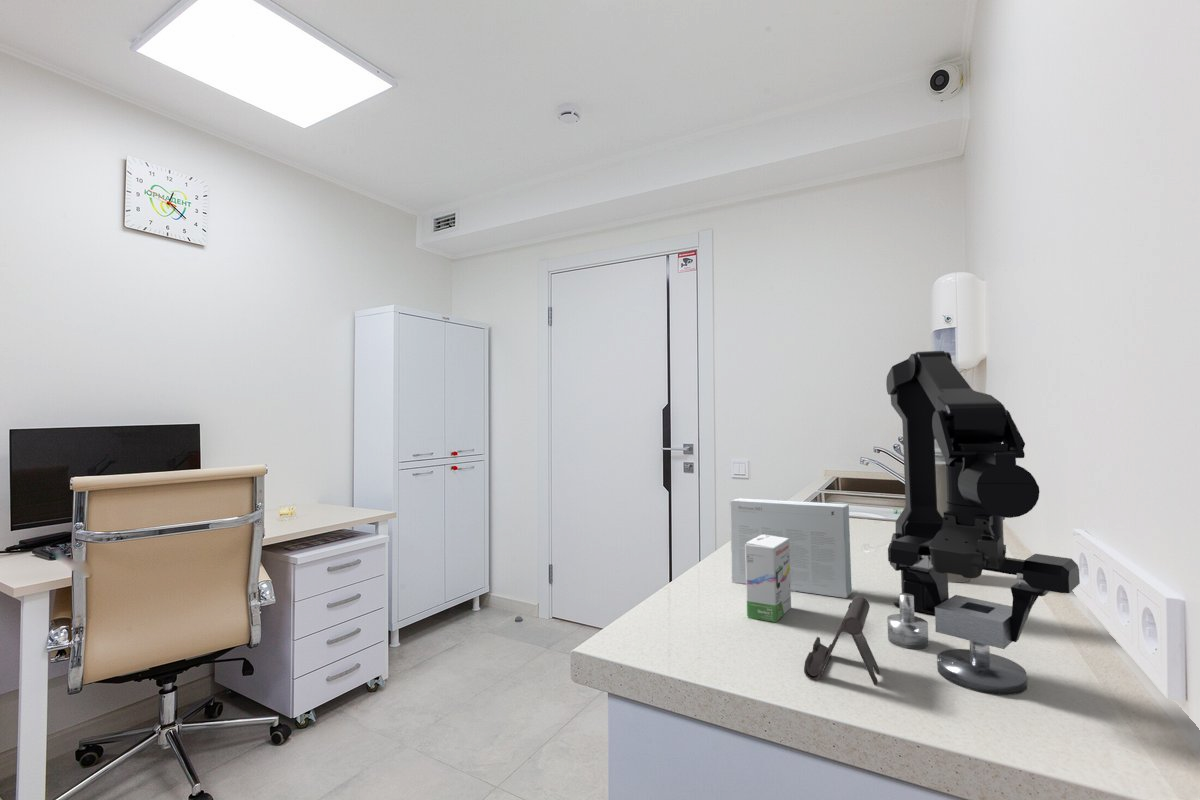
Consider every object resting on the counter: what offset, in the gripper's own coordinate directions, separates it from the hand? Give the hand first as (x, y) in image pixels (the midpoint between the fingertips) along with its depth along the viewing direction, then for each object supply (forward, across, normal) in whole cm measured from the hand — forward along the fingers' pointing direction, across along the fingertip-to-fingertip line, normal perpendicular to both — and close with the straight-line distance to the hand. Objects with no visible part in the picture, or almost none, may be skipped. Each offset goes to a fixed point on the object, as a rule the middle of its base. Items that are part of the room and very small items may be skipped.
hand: (978, 632), depth 69 cm
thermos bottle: (+6, -18, +43) cm, 47 cm away
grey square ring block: (0, 0, 0) cm, 0 cm away
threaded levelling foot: (+5, -10, +5) cm, 12 cm away
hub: (+5, 0, 0) cm, 5 cm away
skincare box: (+6, -36, +16) cm, 39 cm away
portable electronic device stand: (+6, -12, -10) cm, 17 cm away
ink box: (+6, -30, +1) cm, 31 cm away
